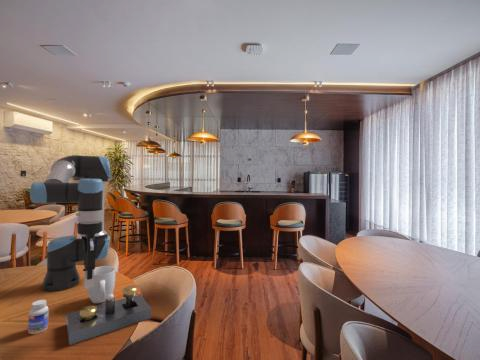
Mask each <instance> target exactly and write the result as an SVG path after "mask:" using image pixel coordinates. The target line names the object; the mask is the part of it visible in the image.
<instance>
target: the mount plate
mask: <svg viewBox="0 0 480 360" xmlns="http://www.w3.org/2000/svg"><path fill="white" fill-rule="evenodd" d="M95 306H96V307H97V315H96V316H95V317H94V318H93V319H92V320H89V321H85V322H84V320H80V310H81V309H79V310H75V311H72V312H68V313H66V331H67V337H68V338H67V339H68V346H69V347H70V346H72V345H76V344H78V343H82V342H84V341H87V340H90V339H94V338H97V337H99V336H103V335H106V334H108V333H111V332H114V331H117V330H121V329H123V328H124V329H125V328H126V327H129V326H132V325H136V324H138V322H139V323H142V322H145V321H148V320H151V319H152V307H151V306H150V305H149V304H148V302H147V301H146V300H145V298H144V296H142V294H137V295H136V296H134V304H133V305H130V306H127V305H126V297H123V298H121V299H117V300H115V311H114V312H112V313H105V303H100V304H99V305H95Z"/></svg>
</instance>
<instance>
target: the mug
mask: <svg viewBox="0 0 480 360" xmlns="http://www.w3.org/2000/svg"><path fill="white" fill-rule="evenodd" d="M115 286H116V268H115V267H114V266H113V265H111V266H110V265H102V266H101V265H100V266H97V267H96V266H95V269H94V287H90V288H86V291H87V294H88V297H89V299H90V301H91V302H92V303H93V304H104V303H105V300H106V299H107V295H108V294H114V293H113V292H114V290H115Z"/></svg>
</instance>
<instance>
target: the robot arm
mask: <svg viewBox="0 0 480 360" xmlns="http://www.w3.org/2000/svg"><path fill="white" fill-rule="evenodd" d="M111 172H112V171H111V166H110V159H109V158H108V157H105V156H98V155H96V156H95V155H79V154H77V155H76V154H75V155H74V154H73V155H68V156H64V157H61V158H59V159H57V160H55V161H54V162H53V163H52V164H51V167H50V172H49V174H48V175H47V177H46V179H45V180H44V181H39V182H33V183H31V185H30V190H29V197H30V201H31V203H34V204H45V205H46V204H57V203H58V204H60V203H61V204H64V203H65V204H66V203H77V213H75V216H76V217H77V222H78V223H77V227H76V228H77V231H76V232H77V234H78V235H81V238H77V236H76V235H65V236H62V237H56V238H53V239H52V240H50V241H49V242H47V243H48V244H47V250H46V258H47V259H46V260H47V261H46V273H45V275H44V277H43V280H42V283H41V289H42V290H43V291H45V292H58V291H63V290H67V289H70V288H73V287H74V286H76V285H77V286H78V284H79V283H80V281H81V280H80V277H81V276H80V274H79V272H78V269H77V263H80V262H81V263H82V262H83V265H84V268H83V269H82V272H84V276H83V277H84V278H83V279H84V281H83V287H84V289H86V290H87V288H90V287H94V269H95V268H96V261H98V260H101V259H102V260H103V259H106V258H107V256H108V253H109V248H110V240H111V236H110V235H108V232H107V231H106V230H105V194H106V192H105V191H106V185H107V184H108V183H109V180H111V179H112V173H111ZM71 179H79V180H78V182H70V180H71Z"/></svg>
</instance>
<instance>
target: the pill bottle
mask: <svg viewBox="0 0 480 360" xmlns="http://www.w3.org/2000/svg"><path fill="white" fill-rule="evenodd" d="M48 327H49V307H48V305H47V300H46V299H39V300H36V301H33V302H32V303H31V309H30V310H29V311H28V328H27V329H28V332H27V333H28V334H31V335H36V334H40V333H42V332H45V331H46V330H47V329H48Z"/></svg>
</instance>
